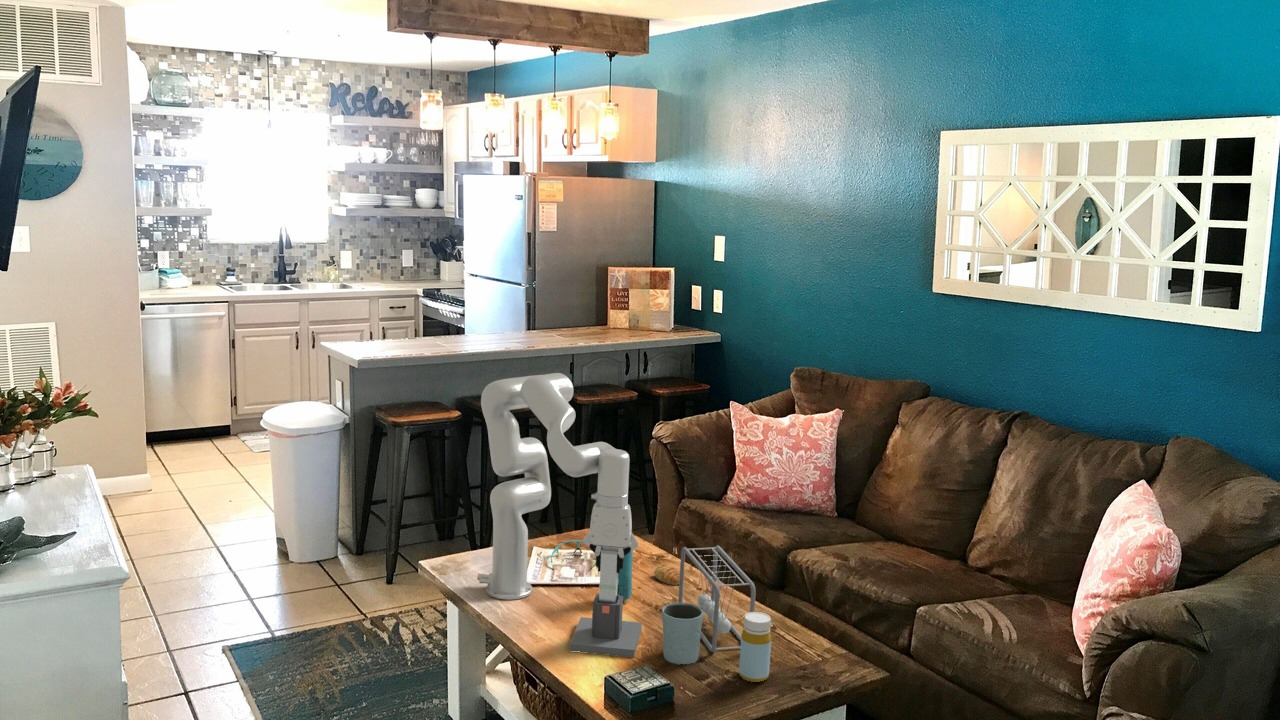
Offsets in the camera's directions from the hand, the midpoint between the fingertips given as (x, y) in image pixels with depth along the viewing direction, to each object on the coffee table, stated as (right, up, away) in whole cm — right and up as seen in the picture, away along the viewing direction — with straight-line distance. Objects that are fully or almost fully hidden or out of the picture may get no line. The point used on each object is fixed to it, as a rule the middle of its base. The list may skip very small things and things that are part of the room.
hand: (609, 569), depth 261 cm
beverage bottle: (+2, -14, +28) cm, 31 cm away
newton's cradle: (+27, -18, +13) cm, 35 cm away
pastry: (+16, -12, +45) cm, 50 cm away
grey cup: (+17, -21, -4) cm, 27 cm away
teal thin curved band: (-12, -9, +54) cm, 57 cm away
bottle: (+35, -23, -12) cm, 43 cm away
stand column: (0, -9, +2) cm, 9 cm away
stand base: (-1, -18, +3) cm, 19 cm away
